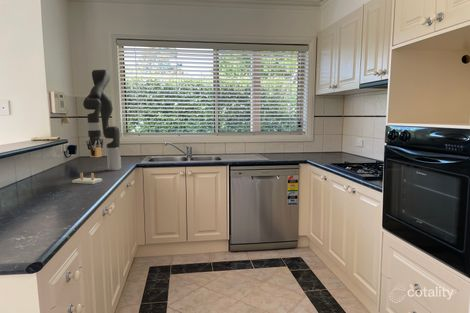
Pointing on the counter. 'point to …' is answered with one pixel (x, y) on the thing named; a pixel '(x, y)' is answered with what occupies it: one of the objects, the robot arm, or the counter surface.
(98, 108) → the robot arm
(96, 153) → the light orange block
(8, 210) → the counter surface
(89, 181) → the base
